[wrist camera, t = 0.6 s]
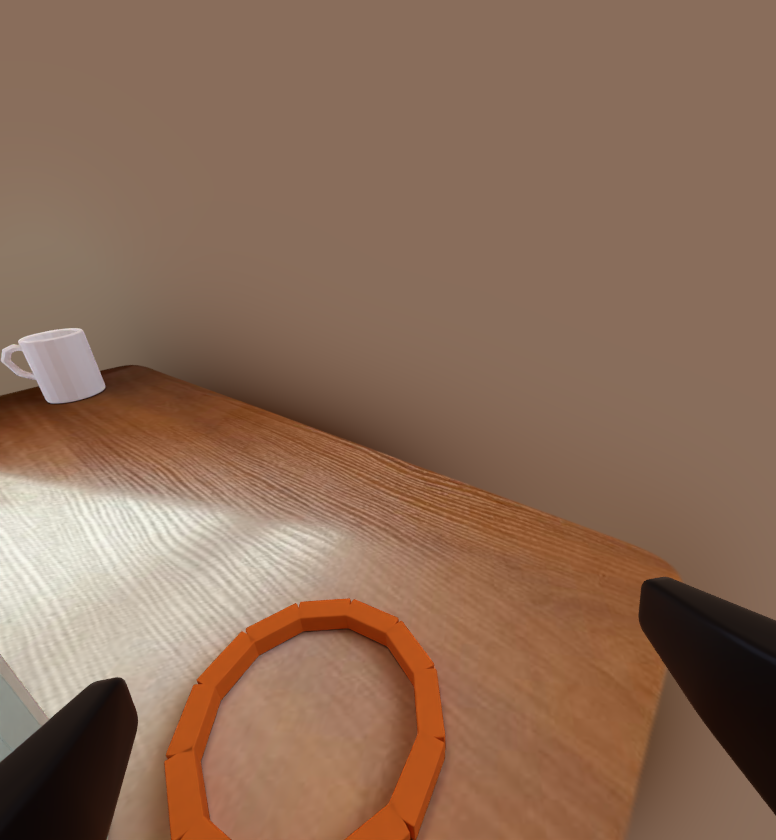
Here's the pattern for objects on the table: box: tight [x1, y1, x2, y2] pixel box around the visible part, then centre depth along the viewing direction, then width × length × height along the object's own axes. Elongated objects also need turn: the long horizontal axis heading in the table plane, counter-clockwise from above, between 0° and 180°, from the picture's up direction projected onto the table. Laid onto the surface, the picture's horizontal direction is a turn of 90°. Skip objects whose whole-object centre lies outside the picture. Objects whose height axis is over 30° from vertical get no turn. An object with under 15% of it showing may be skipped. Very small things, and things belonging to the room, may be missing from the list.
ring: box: [164, 599, 445, 840], centre depth 20 cm, size 12×12×1 cm
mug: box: [1, 328, 105, 403], centre depth 64 cm, size 8×12×10 cm, turn 103°
